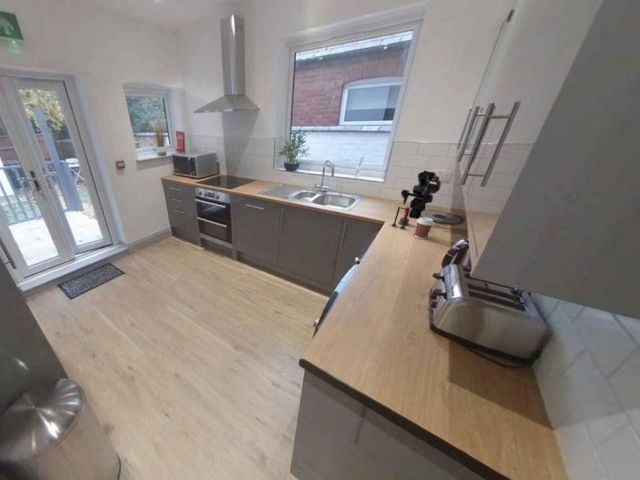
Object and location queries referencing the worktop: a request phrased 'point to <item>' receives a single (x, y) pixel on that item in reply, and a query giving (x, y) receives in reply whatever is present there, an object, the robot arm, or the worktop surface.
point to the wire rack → (397, 216)
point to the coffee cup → (423, 227)
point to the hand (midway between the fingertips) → (410, 206)
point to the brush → (404, 218)
